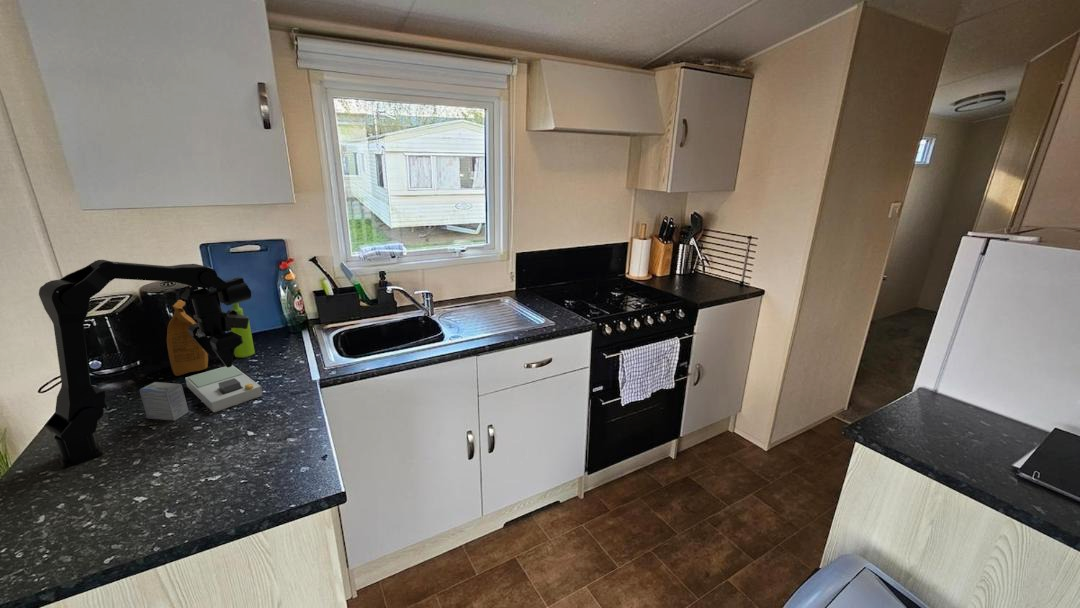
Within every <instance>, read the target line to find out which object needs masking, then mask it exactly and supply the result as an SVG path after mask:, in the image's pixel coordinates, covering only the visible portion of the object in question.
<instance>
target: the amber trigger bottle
mask: <svg viewBox="0 0 1080 608" xmlns="http://www.w3.org/2000/svg"><path fill="white" fill-rule="evenodd" d="M185 305H186V302H185V300H184V301H183V300H182V299H178V300H177V301H176V302H175V303H174V304H173V305H172V308H173V309H174V313H173V316H172V317H171V319H170V320H169V322H168V325H167V330H166V331H167V333H166V346H167V354H168V359H169V364H170V367H171V371H172V373H173V375H174V376H176V377H177V376H178V377H179V376H182V375H186V374H188V373H189V374H190V373H192V372H193V373H194V372H199V371H203V370H206V369H208V365H209V355H208V354H207V352H206V351H205V350H204V349H203V348H202V347H201V346H200V345H199V344H198V343H197V342H196V341H195V340H194V339H193V338H192V336H190V335H189V332H188V328H189V327H190V325H192V324H196V323H197V321H195V319H194V318H192V317H191V316H190V315H188V314H187V313H186V311H185V310H184V306H185Z"/></svg>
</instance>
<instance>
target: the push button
mask: <svg viewBox="0 0 1080 608" xmlns="http://www.w3.org/2000/svg"><path fill="white" fill-rule="evenodd" d="M218 384H219V389H220V392H221V393H222V394H223V395H224V394H227V393H230V392H233V391H236V390H239V389H241V385H240V382H239V381H237V380H236V379H235V378H233V379H230V380H227V381H224V382H220V383H218Z"/></svg>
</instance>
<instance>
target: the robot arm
mask: <svg viewBox="0 0 1080 608" xmlns="http://www.w3.org/2000/svg"><path fill="white" fill-rule="evenodd" d="M115 279H116V280H130V281H133V280H134V281H135V280H137V281H151V282H152V281H153V282H168V283H169V282H172V283H176V284H181V285H187V286H190V287H196V288H199V289H191V288H186V289H185V290H184V292H183V293H182V294H181V295H180V298H181V299H185V300H189V301H192V302H191V303H192V306H193V310H194V312H195V314H193V320H196V324H192V325H190V327H189V328H188V332H189V335H190V336H192V338H193V339H194V340H195V341H196V342H197V343H198V344H199V345H200V346H201V347H202V348H203V349H204V350H205V351H206V352H207V354H208V357H210V358H211V359H213V360H214V359H217V358H219V360H220V361H221V362H222V363H223V364H224V367H225V366H226V367H227V368H228V367H231V366H232V365H233V361H234V360H233V359H234V355H235V354H234V350H235V348H236V347H237V346H239V345H240V344H242V343H243V340H242V336H240V335H238V334H236V333H234V332H232V331H231V332H230V330H231V328H243V329H247V327H248V322H249V323H250V318H249V316H246V315H240V314H237V312H236V311H234V310H231V309H227V311H226V312H224V311H223V309H222V306H221V304H223V305H225V306H230V305H231V306H233V304H235V303H242V302H245V301H249V300H251V298H252V291H251V289H250V288H249V285H248V284H247V283H246V282H245V281H244V280H245V279H244V278H243V277H239V276H238V277H234V278H232V279H229V280H224V279H222V278H221V277H219V276H218V274H217V271H216V270H215V269H214V268H213V267H212V266H211V267H210V266H206V265H202V264H197V263H188V264H187V263H186V264H183V263H182V264H174V265H159V264H148V263H147V264H145V263H134V262H125V261H124V262H123V261H122V262H121V261H112V260H108V259H107V260H106V259H97V260H94V261H92V262H91V263H90V264H88V265H86V266H85V267H82V268H80V269H78V270H75V271H73V272H70V273H69V274H66V275H65V276H63V277H61V278H60V279H54V280H50V281H47V282H45V283H44V284H42V285H41V286H40V287H39V290H38V297H39V299H40V302H41V304H42V305H43V308H44V311H45V312H46V314H47V315H48V317H49V319H50V321H51V322H52V324H53V331H54V337H55V344H56V345H55V346H56V352H57V361H58V366H59V375H60V381H61V383H60V384H61V387H60V389H59V391H58V393H57V395H56V401H55V410H54V413H53V415H51V417H50V418H49V419H48V420H47V421H46V423H45V424H44V425H43V426H44V428H45V429H47V430H48V431H49V432H50V433H53V434H54V441H55V444H56V446H57V449H58V451H59V452H58V453H59V454H57V458H58V461H59V463H60V466H61V468H62V469H64V468H65V469H66V468H68V467H69V468H70V467H72V466H74V465H76V464H79V463H82V462H86V461H88V460H92V459H94V458H96V457H100V456H102V455H104V451H103V450H102V448H101V446H100V443H99V442H98V441H96V438H95V434H94V433H96V431H97V427H98V422H99V420H100V419H101V418H102V417H103V415H104V413H105V411H104V409H108V408H109V407H108V406H107V405H106V401H105V399H106V391H105V390H103V389H101V388H99V387H97V386H95V385H93V384H92V383H91V375H90V374H91V373H90V367H89V359H88V358H89V357H88V349H87V342H86V333H85V321H86V318H87V316H88V313H89V310H90V302H91V298H93V297H94V296H95V295H97V294H99V293H100V292H101V291H102V290H103V289H104V288H105V287H106V286H107V285H108V284H109V283H110V282H112V281H114V280H115Z"/></svg>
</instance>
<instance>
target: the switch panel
mask: <svg viewBox="0 0 1080 608" xmlns="http://www.w3.org/2000/svg"><path fill="white" fill-rule="evenodd" d="M233 378H235V379H236V380H237V381H239V382H240V385H241V389H239V390H236V391H233V392H230V393H227V394H224V395H223V394H222V393H221V392H220V389H219V384H218V383H220V382H224V381H227V380H230V379H233ZM185 383H186V387H187V388H188V389H189V390H190V391H191V392H192V393H193V394H194V395H195V396H196V397H197V398H198V399H200V401H201V402H202V403H203V404H204V405H205V406H206V407H207V408H208V409H209V410H210V411H212V412H213V413H216V412H220V411H222V410H224V409H228V408H231V407H233V406H237V405H239V404H243V403H245V402H249V401H252V400H253V399H257V398H259V397H262V396H263V392H262V386H261V385H260V384H258V383H257V382H256V381H254V380H253V379H252V378H251V377H249V376H248V375H246V374H245V373H244V372H243V371H241V370H240V369H238V368H237V367H236V366H235V365H233V364H232V366H231V367H228V368H227V367H226V366H225V365H224V366H221V367H219V368H214V369H211V370H207V371H205V372H201V373H197V374H193V375H190V376H187V377H185Z"/></svg>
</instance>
